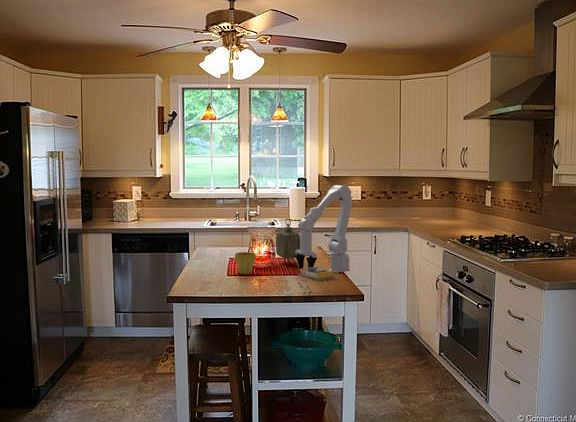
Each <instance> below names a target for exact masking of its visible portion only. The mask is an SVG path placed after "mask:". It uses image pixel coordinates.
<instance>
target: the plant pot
mask: <svg viewBox="0 0 576 422" xmlns="http://www.w3.org/2000/svg"><path fill="white" fill-rule="evenodd" d="M256 256H257V254H256V252H251V251H247V252H246V251H244V252H243V251H242V252H241V251H240V252H236V253H235V254H234V260H235V261H236V266H237V270H238V271H237V272H238V274H243V275H248V274H252V272H253V269H254V268H253V267H254V264H255V261H256V259H257V258H256Z"/></svg>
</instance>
